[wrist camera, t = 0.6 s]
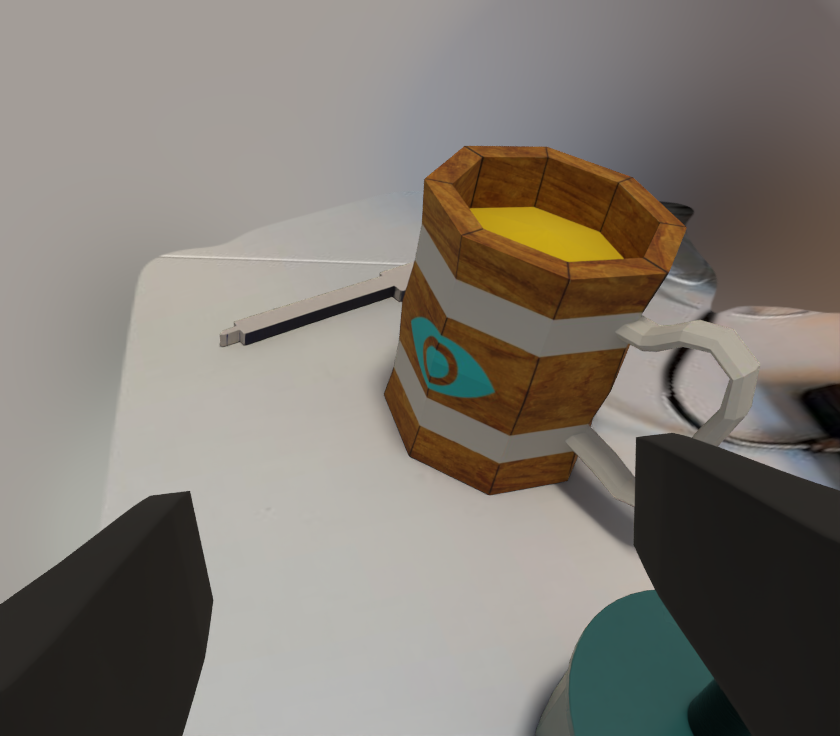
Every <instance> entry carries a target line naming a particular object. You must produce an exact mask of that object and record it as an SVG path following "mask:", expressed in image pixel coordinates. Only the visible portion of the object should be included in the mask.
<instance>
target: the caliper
mask: <svg viewBox="0 0 840 736" xmlns="http://www.w3.org/2000/svg"><path fill="white" fill-rule="evenodd" d="M413 264H414V262H412V263H409V264H406V265H402V266H399V267H396V268H393V269H390V270H387V271H383V272H380V276H379V277H377V278H374V279H370V280H367V281H364V282H360V283H357V284H354V285H351V286H347V287H344V288H341V289H338V290H334V291H331V292H328V293H325V294H321V295H318V296H315V297H311V298H308V299H305V300H302V301H298V302H295V303H292V304H289V305H285V306H282V307H279V308H276V309H273V310H269V311H266V312H263V313H260V314H256V315H253V316H250V317H247V318H244V319H240V320H237V321H234V327H232V328H229V329H226V330H223V331H222V333H220V346H227V345H230V344H233V343H236V342H239V341H240V342H241V343H242V344H243V345H247V344H250V343H253V342H256V341H259V340H262V339H265V338H268V337H271V336H274V335H277V334H280V333H283V332H286V331H289V330H292V329H295V328H298V327H301V326H304V325H307V324H310V323H313V322H316V321H319V320H322V319H325V318H328V317H331V316H334V315H337V314H340V313H343V312H346V311H349V310H352V309H355V308H358V307H361V306H364V305H367V304H370V303H373V302H376V301H379V300H382V299H386V298H389V297H392V296H393V297H394V298H395V299H397V300H398V301H402V300H403V297H404V294H405V290H406V287H407V284H408V281H409V277H410V274H411V271H412V268H413Z"/></svg>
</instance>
